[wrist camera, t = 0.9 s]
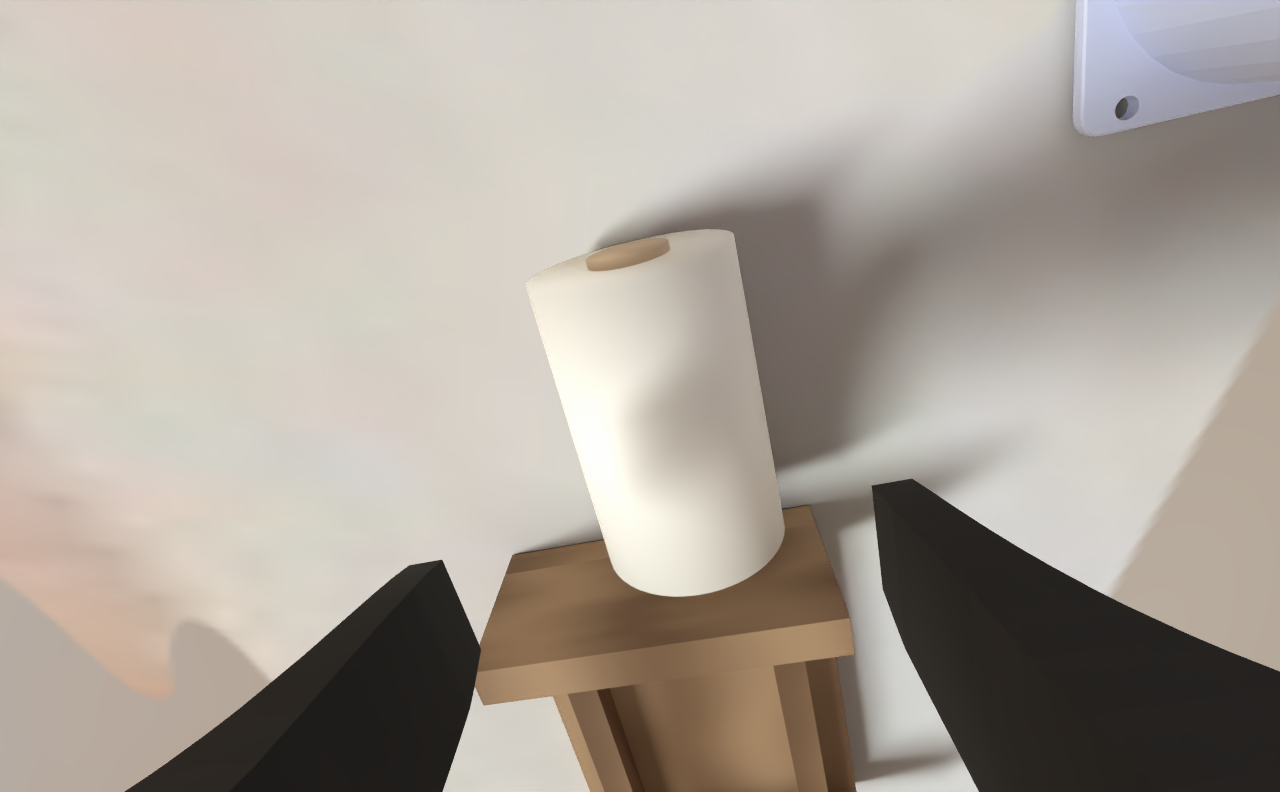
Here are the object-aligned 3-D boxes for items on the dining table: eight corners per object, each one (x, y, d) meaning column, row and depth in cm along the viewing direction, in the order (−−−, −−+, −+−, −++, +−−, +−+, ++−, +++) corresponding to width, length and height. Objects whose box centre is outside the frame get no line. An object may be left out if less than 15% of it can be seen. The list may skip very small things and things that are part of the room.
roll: (724, 211, 17) (743, 245, 12) (771, 479, 20) (801, 585, 15) (545, 253, 17) (499, 300, 13) (618, 505, 21) (603, 616, 16)
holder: (808, 504, 20) (849, 618, 15) (852, 784, 25) (892, 932, 21) (512, 555, 21) (469, 673, 17) (610, 811, 26) (597, 955, 22)
